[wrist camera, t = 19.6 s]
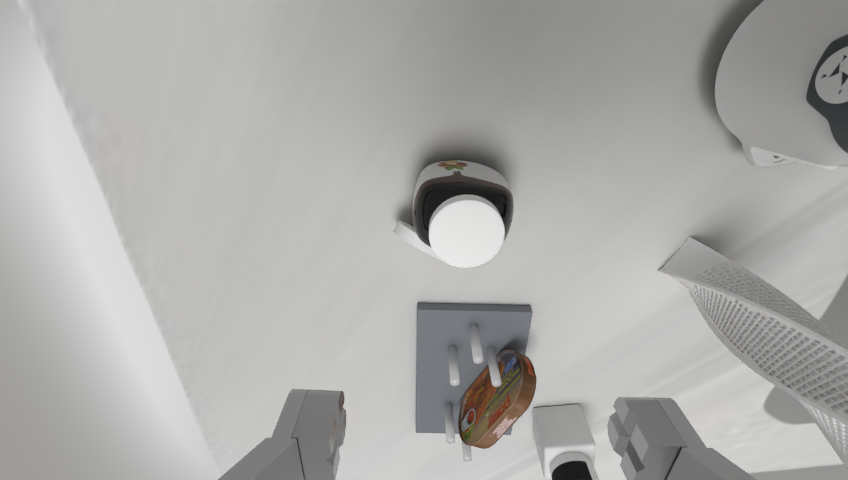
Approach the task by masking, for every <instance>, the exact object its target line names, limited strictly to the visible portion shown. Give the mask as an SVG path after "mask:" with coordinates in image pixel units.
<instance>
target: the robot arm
mask: <svg viewBox="0 0 848 480" xmlns="http://www.w3.org/2000/svg"><path fill="white" fill-rule="evenodd" d="M715 101H716V107H717V110H718V113H719V116H720V118H721V120H722V122H723V123H724V125H725V126H726V127H727V128H728V130H729V131H731V132H732V133H733V134H734V135H735V136H736V137H737V138H738V139H739V140H740V142H741V143H742V147H743V150H744V154H745V157H746V160H747V161H748V163H749V164H750V165H753V166H757V167H762V168H763V167H771V166H777V165H783V164H790V163H796V162H800V163H803V164H807V165H811V166H814V167H818V168H822V169H828V170H834V169H836V168H837V167H838V166H848V0H764V1H763V2H762V3H761V4H759V5H758V6H757V7H756V8H755V9H754V10H753V11H752V12H751V13H750V14H749V15H748V17H747V18H746V19H745V20H744V21H743V23H742V24H741V25H740V26H739V28H738V29H737V31H736V32H735V34H734V35H733V37H732V38H731V40H730V42H729V44H728V45H727V47H726V49H725V51H724V54H723V56H722V59H721V61H720V64H719V68H718V71H717V76H716V82H715ZM773 155H774V156H773ZM343 404H344V393H343V391H328V390H304V389H292V390H291V392H290V393H289V394H288V397H287V399H286V402H285V405H284V407H283V410H282V412H281V415H280V417H279V420H278V422H277V425H276V427H275V430H274V432H273V435H272V437H271V438H265V439H264V440H263V441H262V442H261V443H260V444H259V445H257V446H256V447H255V448H254V449H253V450H252V451H250V452H249V453H248V454H247V455H246V456H245V457H244V458H242V459H241V460H240V461H239V462H238V463H237V464H235V465H234V466H233V467H232V468H231V469H230V470H229V471H227V472H226V473H225V474H224V475H223V476H222V477H220V478H219V479H218V480H335V478H336V474H337V469H338V465H339V460H340V455H339V447H340V446H341V445H342V444H343V441H344V436H345V428H346V410H345V409H344V408H343ZM614 408H615V410H616V412H615V413H614V414H612V415H611V416H610V418H609V422H608V435H609V439H610V443H611V445H612V447H613V450H614V451H615V452H616V453H618V454H619V455H620V456H621V457H622V461H621V464H620V465H621V468H622V470H623V472H624V474H625V476H626V479H627V480H756V479H755V478H753V477H752V476H751V475H749V474H748V473H746V472H745V471H744V470H742V469H741V468H739V467H738V466H737V465H735V464H734V463H732V462H731V461H729V460H728V459H727V458H725V457H724V456H722V455H721V454H720V453H718V452H717V451H715V450H714V449H713V448H707V447H706V446H705V445H704V443H703V442H702V440H701V439H700V437H699V436H698V434H697V433H696V431H695V430H694V428H693V427H692V425H691V424H690V423H689V421H688V420H687V418H686V417H685V415H684V414H683V412H682V411H681V409H680V408H679V406H678V405H677V403H676V402H675V401H674V400H673V399H671V398H651V397H618V398H617V399H616V400H615V403H614Z"/></svg>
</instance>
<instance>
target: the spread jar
mask: <svg viewBox="0 0 848 480" xmlns="http://www.w3.org/2000/svg"><path fill="white" fill-rule="evenodd" d="M512 216H513V197H512V192H511V190H510V187H509V186H508V184H507V182H506V180H505V179H504V178H503V176H502V175H501V174H500V173H498V172H497V171H495V170H493V169H492V168H489V167H487V166H484V165H481V164H479V163H475V162H472V161H466V160H447V161H441V162H437V163H433V164H430V165H429V166H427V167H426V168H424V169H423V170H422V172H421V173H420V175H419V177H418V180H417V183H416V187H415V192H414V199H413V224H414V226H412V225H410V224H408V223H405V222H403V221H399V222H398V223H397V225H396V227H395V229H394V233H395V234H396V235H398V236H399V237H400V238H402V239H403V240H405V241H406V242H408V243H409V244H411V245H413V246H414V247H416V248H418V249H420V250H421V251H423V252H425V253H427V254H429V255H431V256H433V257H435V258H438V259H440V260H442V261H444V262H445V263H447V264H449V265H452V266H456V267H461V268H469V267H475V266H478V265H481V264H483V263H485V262H487V261H489V260H490V259H491V258H493V257H494V256H495V255H496V254H497V252H498V251H499V250H500V248H501V246H502V244H503V242H504V240H505V238H506V236H507V234H508V232H509V229H510V226H511V222H512Z"/></svg>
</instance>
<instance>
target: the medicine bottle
mask: <svg viewBox="0 0 848 480" xmlns="http://www.w3.org/2000/svg"><path fill="white" fill-rule="evenodd" d="M533 414H534V440H535V444H536V447H537V451H538V455H539V459H540V463H541V467H542V471H543V474H544V477H545V478H546V479H552V480H599V479H598V476H597V473H596V471H595V468H594V459H595V448H596V444H595V442H594V439H593V437H592V434H591V432H590V429H589V427H588V424H587V422H586V419H585V417H584V415H583V412H582V410H581V407H580V405H579V404H573V405H561V406H550V407H538V408H534V409H533Z"/></svg>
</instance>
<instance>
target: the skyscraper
mask: <svg viewBox="0 0 848 480" xmlns="http://www.w3.org/2000/svg"><path fill="white" fill-rule="evenodd" d="M687 239H688V240H687V241H686V242H685V243H684V244H683V245H682V246H681V247H680V249H679V250H678V251H677V252H676V253H675V254H674V255H673V256H672V257H671V258H670V259H669V261H668V262H667V263H666V264H665V265H664V266H663V267H662V268H661V269H659V270H658V271H659V272H661V273H665V274H668V275H670V276H671V277H673V278H675V279H676V280H678V281H679V282H680V283H682V284H683V285H684V286H685V287H686V288H687V289H688V290H689V292H690V294H691V296H692V298H693V299H694V301H695V303H696V305H697V307H698V309H699V311H700V312H701V314H702V316H703V318H704V319H705V321H706V322H707V324H708V325H709V327H710V328H711V329H712V331H713V332H714V333H715V335H716V336H717V337H718V338H719V339H720V340H721V342H722V343H723V344H724V345H725V346H726V347H727V348H728V349H729V350H730V351H731V352H732V353H733V354H734V355H735V356H736V357H737V358H739V359H740V360H741V361H742V362H743V363H744V364H746V365H747V366H748V367H749V368H751V369H752V370H753V371H755V372H756V373H757V374H759V375H760V376H762V377H763V378H765V379H766V380H768V381H769V382H771V383H773V384H774V385H776V386H777V387H779V388H781V389H782V390H784V391H785V392H787V393H789V394H791V395H793V396H794V397H795V398H796V399H797V400H798V401H799V402H800V403H802V404H803V405H804V406H805V408H806V409H807V411H808V412H809V414H810V415H811V416H812V418H813V420H814V421H815V423H816V424H817V426H818V427H819V429H820V430H821V431H822V433H823V434H824V436H825V437H826V439H827V440H828V442H829V443H830V445H831V446H832V447H833V449H834V450H835V452H836V453H837V455H838V456H839V458H840V459H841V460H842V462H843V463H844V465H845V466H846V468H847V469H848V348H847V347H846V346H845V345H844V344H843V343H842V342H841V341H840V340H839V339H838V338H837V337H836V336H835V335H834V334H833V333H832V332H831V331H830V330H829V329H828V328H826V327H825V326H824V325H823V324H822V323H820V322H819V321H818V320H817V319H816V318H815V317H813V316H812V315H811V314H810V313H809V312H807V311H806V310H805V309H803V308H802V307H801V306H800V305H798V304H797V303H796V302H794V301H793V300H792V299H790V298H789V297H788V296H786V295H785V294H783V293H782V292H781V291H779V290H778V289H776V288H775V287H773V286H772V285H770V284H769V283H767V282H766V281H764V280H763V279H761V278H760V277H758V276H757V275H755V274H753V273H752V272H750V271H748V270H747V269H745V268H744V267H742V266H740V265H739V264H737V263H735V262H734V261H732V260H730V259H728V258H727V257H725V256H723V255H722V254H720V253H718V252H716V251H715V250H713V249H711V248H709V247H707V246H706V245H704V244H702V243H700V242H698V241H697V240H695V239H693V238H691V237H688V238H687Z"/></svg>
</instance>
